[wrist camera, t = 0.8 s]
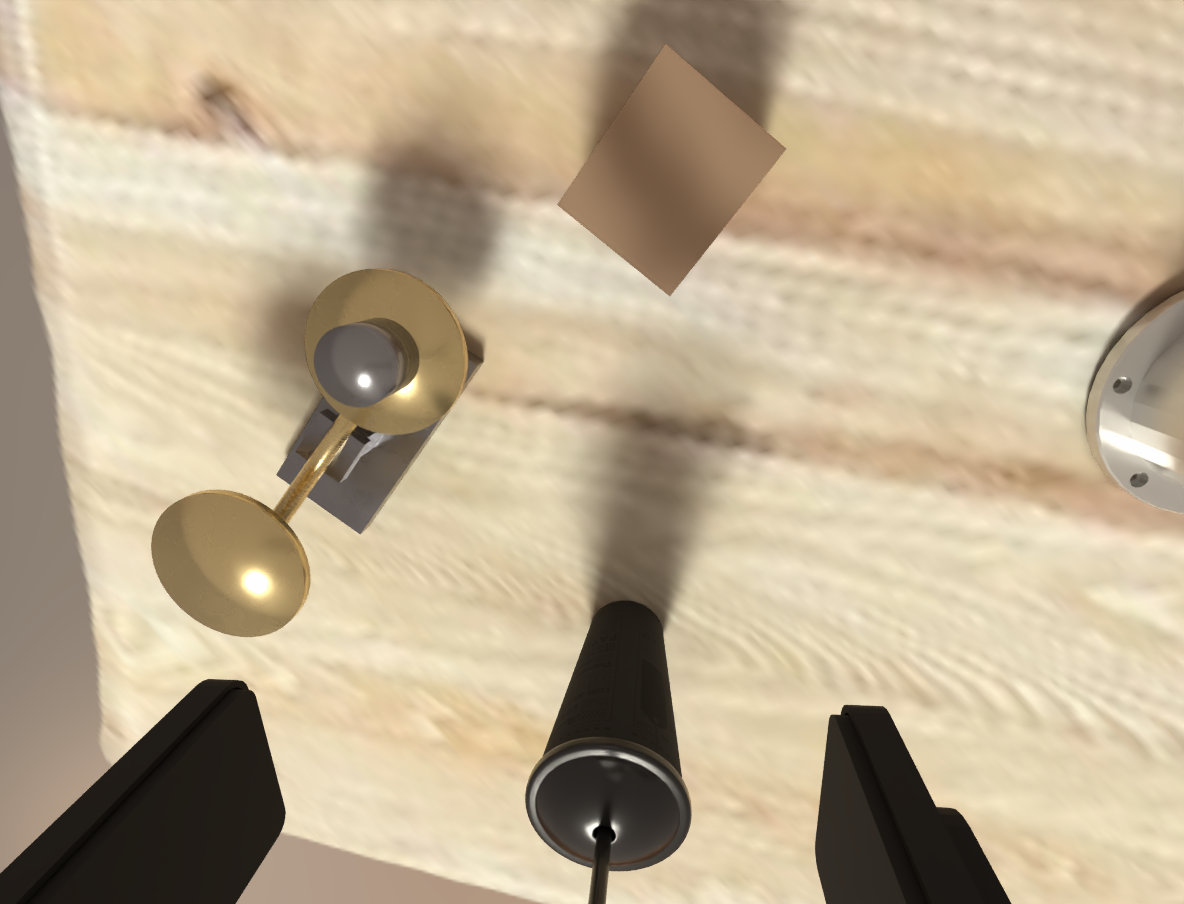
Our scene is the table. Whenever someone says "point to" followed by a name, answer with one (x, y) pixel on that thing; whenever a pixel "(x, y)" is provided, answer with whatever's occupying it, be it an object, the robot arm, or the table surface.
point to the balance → (323, 451)
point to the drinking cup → (613, 754)
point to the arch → (670, 172)
